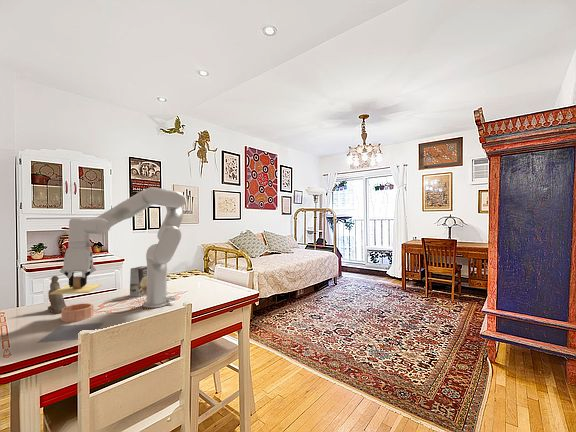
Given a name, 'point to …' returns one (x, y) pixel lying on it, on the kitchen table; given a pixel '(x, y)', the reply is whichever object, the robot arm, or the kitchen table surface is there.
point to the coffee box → (138, 281)
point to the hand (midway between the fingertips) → (77, 286)
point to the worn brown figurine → (55, 297)
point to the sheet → (69, 289)
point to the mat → (69, 332)
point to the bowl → (77, 312)
